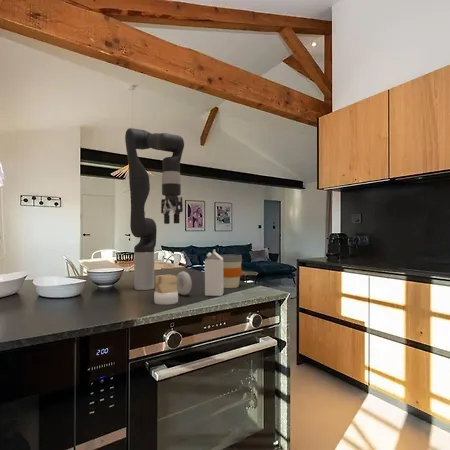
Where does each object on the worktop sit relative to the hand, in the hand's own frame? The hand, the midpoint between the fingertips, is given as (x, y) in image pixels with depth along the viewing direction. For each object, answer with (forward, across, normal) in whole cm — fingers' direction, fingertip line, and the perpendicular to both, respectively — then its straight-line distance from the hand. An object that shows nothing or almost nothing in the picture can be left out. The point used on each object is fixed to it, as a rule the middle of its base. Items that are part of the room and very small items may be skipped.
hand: (171, 223), depth 137 cm
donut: (+30, +3, -7) cm, 31 cm away
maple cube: (+26, -5, +5) cm, 27 cm away
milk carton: (+30, -4, -18) cm, 35 cm away
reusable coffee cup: (+30, +8, -35) cm, 47 cm away
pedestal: (+30, -5, +5) cm, 31 cm away
